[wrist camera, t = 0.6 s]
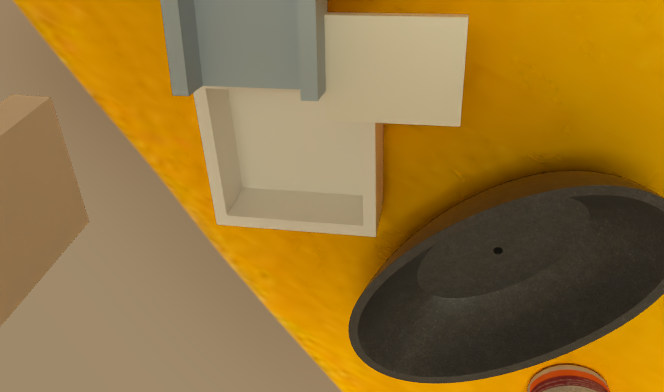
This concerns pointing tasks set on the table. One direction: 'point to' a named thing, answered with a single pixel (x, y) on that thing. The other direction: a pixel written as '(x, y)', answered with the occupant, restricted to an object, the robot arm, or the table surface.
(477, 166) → the table surface
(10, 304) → the robot arm
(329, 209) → the dish
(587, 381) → the pill bottle
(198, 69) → the ramp
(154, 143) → the table surface
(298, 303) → the table surface
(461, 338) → the bowl
